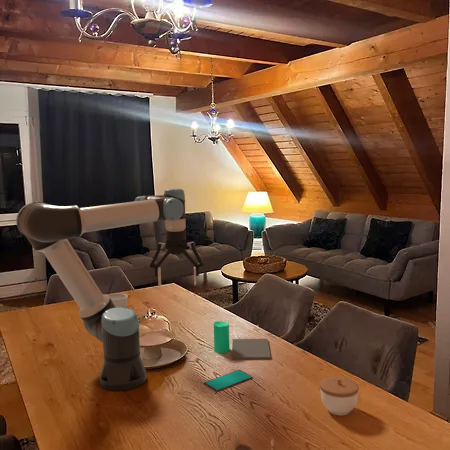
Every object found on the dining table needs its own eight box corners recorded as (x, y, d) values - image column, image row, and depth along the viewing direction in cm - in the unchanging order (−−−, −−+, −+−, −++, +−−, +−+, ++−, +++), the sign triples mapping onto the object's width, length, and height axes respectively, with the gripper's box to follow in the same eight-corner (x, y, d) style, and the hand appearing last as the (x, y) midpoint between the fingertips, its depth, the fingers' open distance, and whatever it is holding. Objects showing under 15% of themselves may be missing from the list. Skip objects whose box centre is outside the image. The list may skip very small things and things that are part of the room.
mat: (270, 359, 174) (270, 356, 174) (232, 359, 174) (232, 357, 174) (267, 340, 192) (267, 338, 192) (232, 340, 192) (232, 339, 192)
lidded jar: (334, 423, 131) (335, 391, 130) (312, 405, 141) (312, 375, 139) (366, 414, 135) (366, 383, 134) (342, 397, 145) (342, 368, 143)
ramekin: (107, 306, 243) (106, 292, 242) (132, 306, 241) (131, 293, 240) (96, 314, 230) (95, 300, 229) (123, 315, 228) (122, 301, 227)
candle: (210, 350, 183) (209, 320, 181) (221, 345, 187) (220, 316, 186) (222, 354, 179) (221, 323, 177) (232, 349, 183) (232, 319, 182)
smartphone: (203, 382, 156) (239, 369, 165) (203, 385, 156) (239, 371, 165) (216, 390, 150) (253, 377, 159) (216, 393, 150) (253, 379, 159)
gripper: (208, 227, 185) (210, 281, 187) (143, 229, 184) (146, 283, 187) (208, 230, 177) (210, 286, 180) (141, 232, 177) (143, 288, 179)
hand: (177, 284), depth 183 cm, fingers open, 13 cm apart
